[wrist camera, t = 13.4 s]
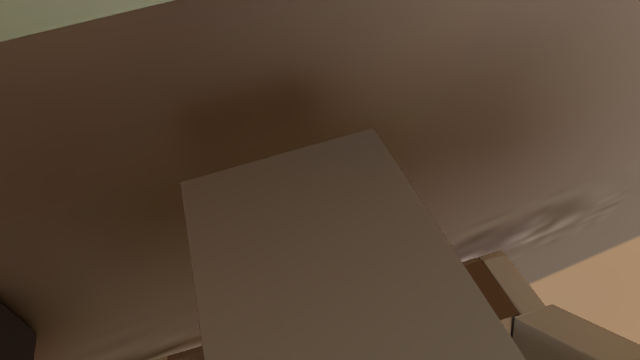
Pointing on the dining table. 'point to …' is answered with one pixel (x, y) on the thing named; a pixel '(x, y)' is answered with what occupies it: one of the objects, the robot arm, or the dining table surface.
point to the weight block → (330, 263)
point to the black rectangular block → (15, 337)
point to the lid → (58, 13)
